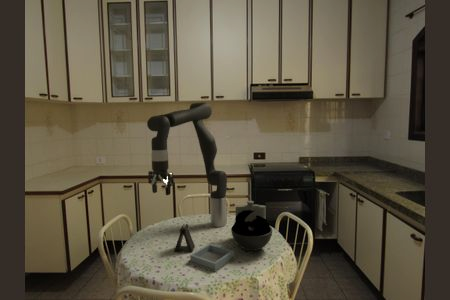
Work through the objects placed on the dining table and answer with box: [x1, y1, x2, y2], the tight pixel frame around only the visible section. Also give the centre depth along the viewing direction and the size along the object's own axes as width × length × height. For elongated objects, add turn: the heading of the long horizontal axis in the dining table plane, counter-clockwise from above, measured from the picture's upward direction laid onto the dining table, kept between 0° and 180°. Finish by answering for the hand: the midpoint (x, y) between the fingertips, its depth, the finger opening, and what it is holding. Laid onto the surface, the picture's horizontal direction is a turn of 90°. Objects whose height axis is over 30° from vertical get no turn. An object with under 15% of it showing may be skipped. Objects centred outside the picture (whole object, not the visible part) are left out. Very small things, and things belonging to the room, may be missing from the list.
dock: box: [188, 243, 236, 273], centre depth 125 cm, size 15×15×3 cm
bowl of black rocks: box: [230, 210, 273, 251], centre depth 135 cm, size 20×20×19 cm
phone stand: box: [173, 223, 196, 253], centre depth 136 cm, size 9×6×12 cm, turn 84°
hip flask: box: [235, 200, 267, 222], centre depth 148 cm, size 16×4×20 cm, turn 86°
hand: (161, 193), depth 130 cm, fingers open, 8 cm apart
